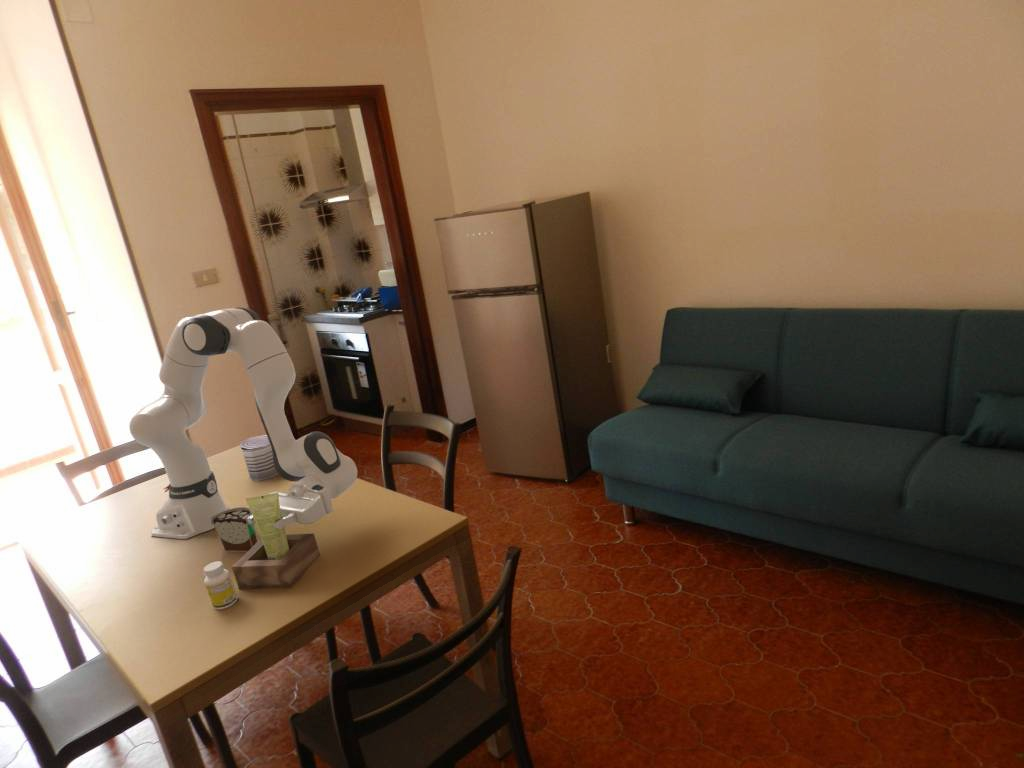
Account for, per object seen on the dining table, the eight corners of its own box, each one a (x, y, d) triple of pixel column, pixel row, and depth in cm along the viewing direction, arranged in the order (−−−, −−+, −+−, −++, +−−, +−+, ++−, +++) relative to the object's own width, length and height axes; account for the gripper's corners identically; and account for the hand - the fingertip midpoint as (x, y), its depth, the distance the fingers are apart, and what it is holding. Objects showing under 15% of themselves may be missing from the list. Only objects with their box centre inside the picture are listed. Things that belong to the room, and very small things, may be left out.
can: (265, 465, 243) (256, 433, 240) (291, 466, 238) (282, 433, 235) (242, 480, 233) (231, 447, 230) (268, 481, 229) (258, 447, 225)
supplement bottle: (217, 598, 163) (205, 561, 160) (241, 594, 163) (228, 557, 160) (210, 612, 158) (196, 574, 155) (234, 607, 158) (221, 569, 155)
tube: (289, 559, 173) (267, 487, 167) (299, 565, 169) (277, 491, 164) (268, 571, 169) (245, 498, 163) (278, 576, 165) (255, 502, 160)
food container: (273, 539, 187) (262, 506, 184) (258, 552, 182) (247, 517, 179) (236, 539, 191) (225, 506, 189) (220, 551, 186) (209, 517, 183)
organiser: (239, 589, 165) (231, 566, 163) (270, 556, 178) (264, 535, 176) (291, 587, 162) (284, 565, 160) (320, 554, 174) (314, 533, 173)
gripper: (274, 481, 181) (230, 507, 170) (331, 488, 170) (288, 516, 159) (281, 503, 183) (238, 530, 172) (337, 512, 172) (295, 541, 161)
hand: (262, 523), depth 165 cm, fingers open, 8 cm apart
